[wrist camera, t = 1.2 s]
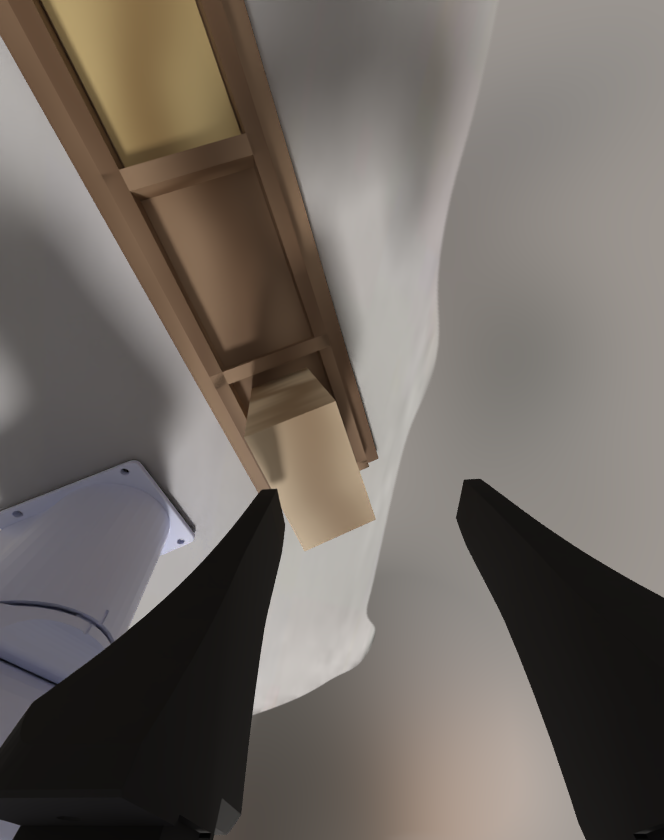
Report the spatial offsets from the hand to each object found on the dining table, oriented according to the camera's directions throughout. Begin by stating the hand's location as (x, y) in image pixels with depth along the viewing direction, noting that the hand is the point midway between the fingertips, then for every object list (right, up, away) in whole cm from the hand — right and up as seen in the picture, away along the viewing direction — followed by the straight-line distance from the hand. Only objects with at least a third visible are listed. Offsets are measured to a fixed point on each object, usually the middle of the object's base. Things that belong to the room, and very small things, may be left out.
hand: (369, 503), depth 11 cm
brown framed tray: (-7, +12, +6) cm, 15 cm away
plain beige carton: (-4, +3, +9) cm, 10 cm away
